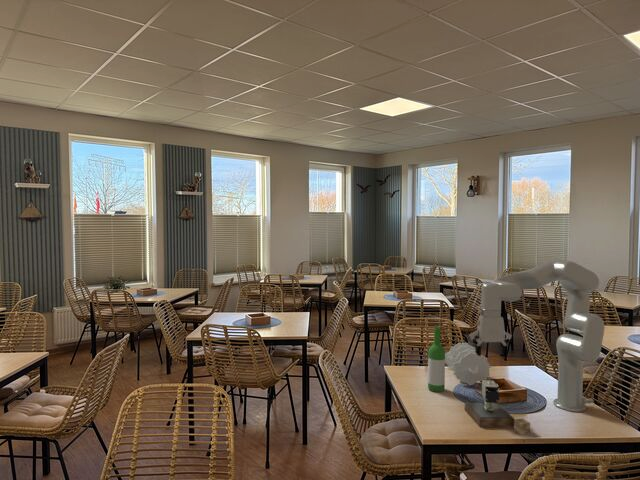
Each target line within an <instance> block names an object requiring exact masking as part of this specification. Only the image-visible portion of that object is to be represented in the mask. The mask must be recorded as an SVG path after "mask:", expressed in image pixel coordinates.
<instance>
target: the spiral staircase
mask: <svg viewBox="0 0 640 480" xmlns="http://www.w3.org/2000/svg"><path fill="white" fill-rule="evenodd" d="M445 365H447V367H448V368H449V370H450V371H452V372H453V374H454V376H455V377H456V378H458V379H459V382H461V383H464V384H467V386H468V385H469V386H472V385H476V384H475V383H476V382H477V381H481V380H488V377H490V368H492V366H491V364H490V363H489V362H488V357H485V356H484V355H483V354H481V356H478V355H477V354H476V352H475V346H473V345H470V344H469V342H464V343H461V342H460V341H459V342H458V343H457V344H455V345H453V346H452V345H451V347H450V350H449V351H447V352H445Z"/></svg>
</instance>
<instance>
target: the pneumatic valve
mask: <svg viewBox="0 0 640 480" xmlns="http://www.w3.org/2000/svg"><path fill="white" fill-rule="evenodd" d="M499 387H500V386H499V384H498V383H496V382H495V381H494V379H493V380H492V379H487V380H482V382H481V395H482V398H483V400H484V402H483V403H485V406H484V408H485V410H486V411H493V412H494V405H495V404H494V403H498V404H499V401H500V394H501V393H500V390H499Z"/></svg>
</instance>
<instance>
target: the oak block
mask: <svg viewBox="0 0 640 480" xmlns="http://www.w3.org/2000/svg"><path fill="white" fill-rule="evenodd" d="M514 419H515V418H514ZM513 430H514V431H515V432H517V433H518V434H520V435H525V434H530V433H531V422H530V421H528V420H526V419H524V418H523V417H522V418H517V419H515V420H514V426H513Z"/></svg>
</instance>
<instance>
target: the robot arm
mask: <svg viewBox="0 0 640 480" xmlns="http://www.w3.org/2000/svg"><path fill="white" fill-rule="evenodd" d="M556 281H559V283H560V285H561V286H562V287H563V290H565V292H566V295H567V304H566V310H565V315H564V327H565V329H567V330H568V331H571V332H573V333H577V334H581V335H583V336H579V335H575V334H572V333H563V334H561V335H559V336H558V338H557V339H556V345H555V346H556V352H557V360H558V364H557V365H558V367H557V369H558V370H557V373H558V374H557V398H555V399H553V401H552V403H553V405H554V406H555V407H557V408H558V409H561V410H565V411H568V412H577V413H579V412H584V411H586V410H587V405H586V404H593V403H594V398H591V397H589V398H587V396H583V390H584V389H583V387H584V386H583V384H584V383H583V382H584V380H583V379H584V365H583V362H584V363H590V364H591V363H594V362H596V361H597V360H598V359H599V357H600V354H601V352H602V351H601V350H602V345H603V340H604V335H605V322H604V320H603V318H602V317H601V316H599V315H598V314H594V313H592V312H590V305H591V299H590V295H589V293H591V292H594V291H596V290H597V289H598V288H599V286H600V279H599V276H598V275H597V274H596V273H595V272H594V271H592V270H590V269H588V268H586V267H584V266H582V265H580V264H579V263H577V262H574V261H571V260H563V259H562V260H561V259H551V260H548V261H546V262H543V263H541V264H538V265H536V266H534V267H533V268H530V269H526V270H522V271H519V272H518V271H517V272H513V273H509V274H506V275H503V276H500V277H498V278H496V279H494V280H493V281H491V282H484V283H482V285H481V294H480V295H481V300H480V301H481V302H480V303H481V305H480V306H481V307H480V310H478V311H477V314H478V315H479V317H478V323H477V327H476V328H477V329H476V330H475V331H473V332H472V333H470V334H469V338H470V340H471V342H472V343H473V344H474V345H475V346H474V347H475V352H476V354H477V355H478V356H481V355H482V346H481V345H482V344H483V343H499V347H498V349H499V350H498V352H499V355H501V356H502V357H504V356H505V354H506V347H507V345H508V344H509V343H510V340H511V339H512V336H513V335H512V334H511V333H509V332H507V331H505V322H504V317H502V316H501V314H502V301H504V302H516V301H518V300H520V299H521V297H522V295H523V290H535V289H536V290H537V289H540V288H543V287H544V286H546V285H548V284H551V283H553V282H556ZM475 337H476V339H475Z"/></svg>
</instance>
